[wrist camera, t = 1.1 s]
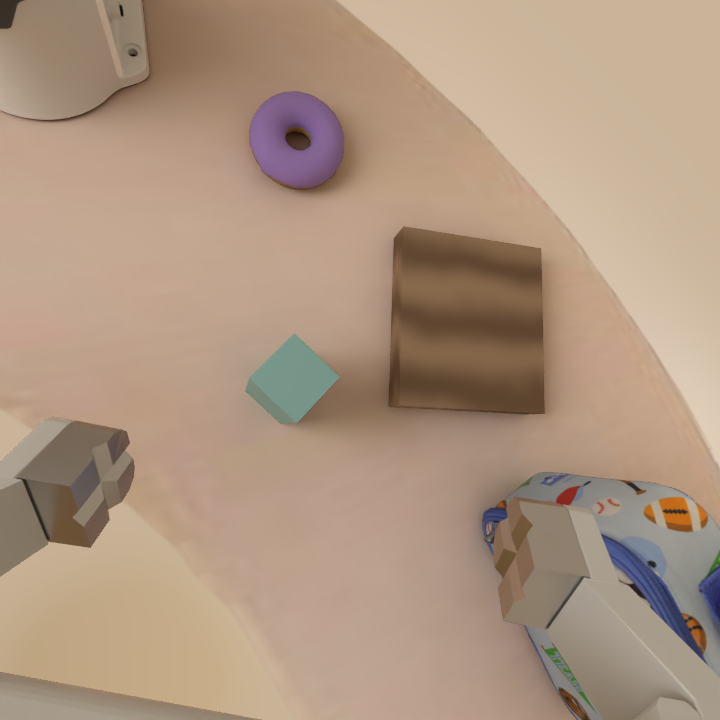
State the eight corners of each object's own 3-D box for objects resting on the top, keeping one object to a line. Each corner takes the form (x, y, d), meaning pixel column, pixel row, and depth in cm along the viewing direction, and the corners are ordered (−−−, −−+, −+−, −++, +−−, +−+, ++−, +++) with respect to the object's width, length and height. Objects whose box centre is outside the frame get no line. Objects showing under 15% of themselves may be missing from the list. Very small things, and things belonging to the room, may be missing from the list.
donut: (330, 208, 47) (330, 181, 43) (243, 186, 47) (233, 157, 43) (353, 126, 49) (355, 92, 45) (270, 105, 49) (263, 68, 45)
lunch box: (446, 497, 47) (619, 556, 26) (521, 446, 50) (732, 462, 29) (571, 736, 47) (847, 991, 26) (639, 671, 50) (935, 850, 29)
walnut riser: (393, 238, 49) (403, 226, 46) (524, 258, 53) (541, 248, 50) (388, 406, 46) (399, 405, 44) (526, 414, 50) (544, 413, 48)
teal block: (245, 390, 43) (249, 378, 31) (279, 357, 44) (294, 333, 33) (280, 423, 43) (296, 423, 32) (312, 389, 45) (339, 376, 33)
